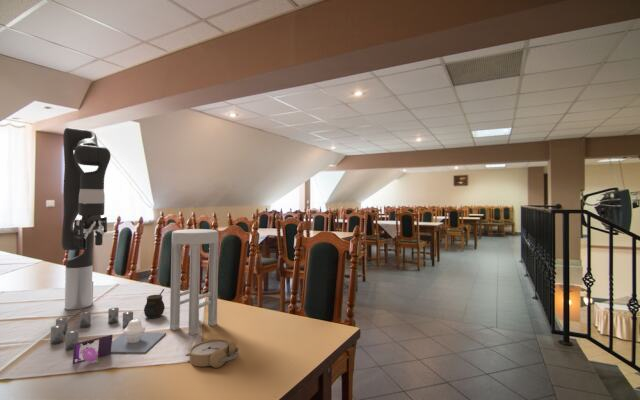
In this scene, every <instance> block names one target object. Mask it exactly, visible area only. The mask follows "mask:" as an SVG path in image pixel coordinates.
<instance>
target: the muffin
mask: <svg viewBox="0 0 640 400" xmlns="http://www.w3.org/2000/svg"><path fill="white" fill-rule="evenodd" d="M145 326H146V325H143V323H142V322H141V320H140V319H134V318H133V320H131V321H130V322H129V323H128V326H127V327H126V328H123V333H124V336H125V337H126V339H127V341H128V342H129V343H136V342H138V341H140V339H141V337H142V336H143V334H144V333H145V331H146V327H145ZM123 333H122V334H123Z"/></svg>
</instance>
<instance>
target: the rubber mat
mask: <svg viewBox="0 0 640 400" xmlns="http://www.w3.org/2000/svg"><path fill="white" fill-rule="evenodd" d="M166 335H167V332H144V334H143V336H142V337H141V339H140V341H138V342H136V343H129V342H128V341H127V339H126V337H125V336H124V333H121V335H120V334H119V336H117V337H116V338H114V339H112V346H111V354H147V352H148V351H150V349H152V348H153V347H154V346H155V345H157V343H158V342H159V341H160V340H161V339H163V337H165V336H166Z"/></svg>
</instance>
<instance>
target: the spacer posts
mask: <svg viewBox="0 0 640 400" xmlns="http://www.w3.org/2000/svg"><path fill="white" fill-rule="evenodd" d="M119 309H120V308H119V307H110V308H108V313H107V315H108V317H107V318H108V319H107V320H108V321H107V323H108V325H113V324H118V323H119V316H120V315H119ZM131 320H134V311H133V310H128V311H124V312H123V313H122V329H125V328H126V327H127V326H128V323H129V322H130V321H131ZM68 323H69V318H68V317H67V316H66V317H64V316H63V317H58V318H56V319H55V325H52V326H50V345H58V344H62V343H63V342H64V343H65V345H64V346H65V347H64V349H65V351H74V344H75V343H78V342H79V336H80V332H79V329H71V330H68V329H69V328H68V325H69V324H68ZM91 325H92V311H91V310H85V311H82V312H80V313H79V328H80V329H86V328H90V327H91ZM64 337H65V340H64Z"/></svg>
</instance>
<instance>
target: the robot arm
mask: <svg viewBox="0 0 640 400" xmlns="http://www.w3.org/2000/svg"><path fill="white" fill-rule="evenodd" d="M62 136H63V139H62V140H63V157H64V159H63V160H64V161H63V162H64V167H63V168H64V173H63V186H62V187H63V193H62V194H63V221H62V230H61V247H62V249H63V250H64V251H83V252H82V253H81V254H78V255H77V256H75V257H71V258H69V259H67V260H65V271H64V272H65V273H64V274H65V278H64V280H65V283H64V285H65V286H64V310H68V311H70V310H80V309H85V308H89V307H91V306H92V305H93V303H94V281H93V267H94V265H93V262H94V261H93V260H94V258H93V253H94V245H95V246H102V245H103V236H104V235H105V233H106V234H107V232H108V217H107V216H105V215H104V214H105V202H106V201H105V200H106V198H105V176H106V172H107V168H108V165H109V164H110V160H111V157H112V156H111V151H110V149H108V148H107V147H105V146H99V145H98V138H97V135H96V133H95V132H94V130H93V131H92V130H89V129H84V128H83V129H82V128H75V127H65V129H64V130H63V135H62ZM80 165H82V166H91V167H92V166H93V167H97V169H95V170H93V171H85V172H84V170H83V168H81V166H80ZM78 216H81V219H76V218H77V217H78Z"/></svg>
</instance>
